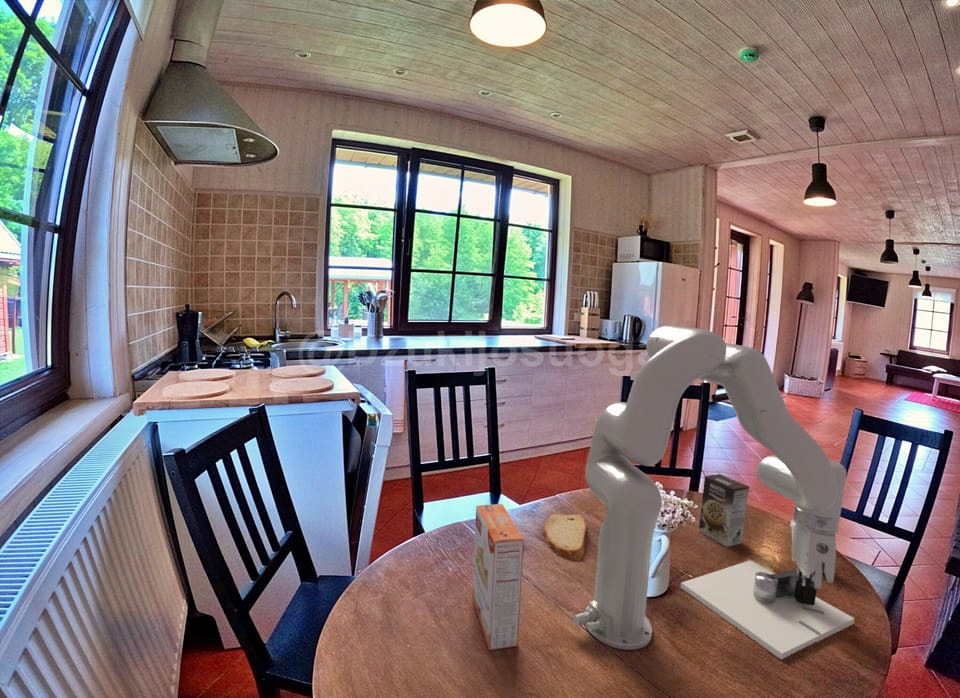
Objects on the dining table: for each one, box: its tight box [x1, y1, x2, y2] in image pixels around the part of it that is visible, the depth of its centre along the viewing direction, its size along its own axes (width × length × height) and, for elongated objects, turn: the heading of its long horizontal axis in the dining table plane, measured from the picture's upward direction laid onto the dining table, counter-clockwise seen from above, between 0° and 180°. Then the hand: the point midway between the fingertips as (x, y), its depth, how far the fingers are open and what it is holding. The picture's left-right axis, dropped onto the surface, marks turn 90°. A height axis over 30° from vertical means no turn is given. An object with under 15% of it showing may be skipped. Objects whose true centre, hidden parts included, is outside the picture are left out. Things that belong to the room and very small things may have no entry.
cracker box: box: [472, 503, 525, 651], centre depth 87 cm, size 14×6×21 cm, turn 13°
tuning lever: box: [753, 569, 798, 604], centre depth 99 cm, size 12×4×4 cm, turn 108°
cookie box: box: [698, 473, 750, 548], centre depth 125 cm, size 9×6×16 cm
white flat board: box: [680, 560, 856, 660], centre depth 98 cm, size 24×22×1 cm
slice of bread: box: [542, 512, 588, 561], centre depth 122 cm, size 18×18×4 cm
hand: (804, 601), depth 97 cm, fingers closed
